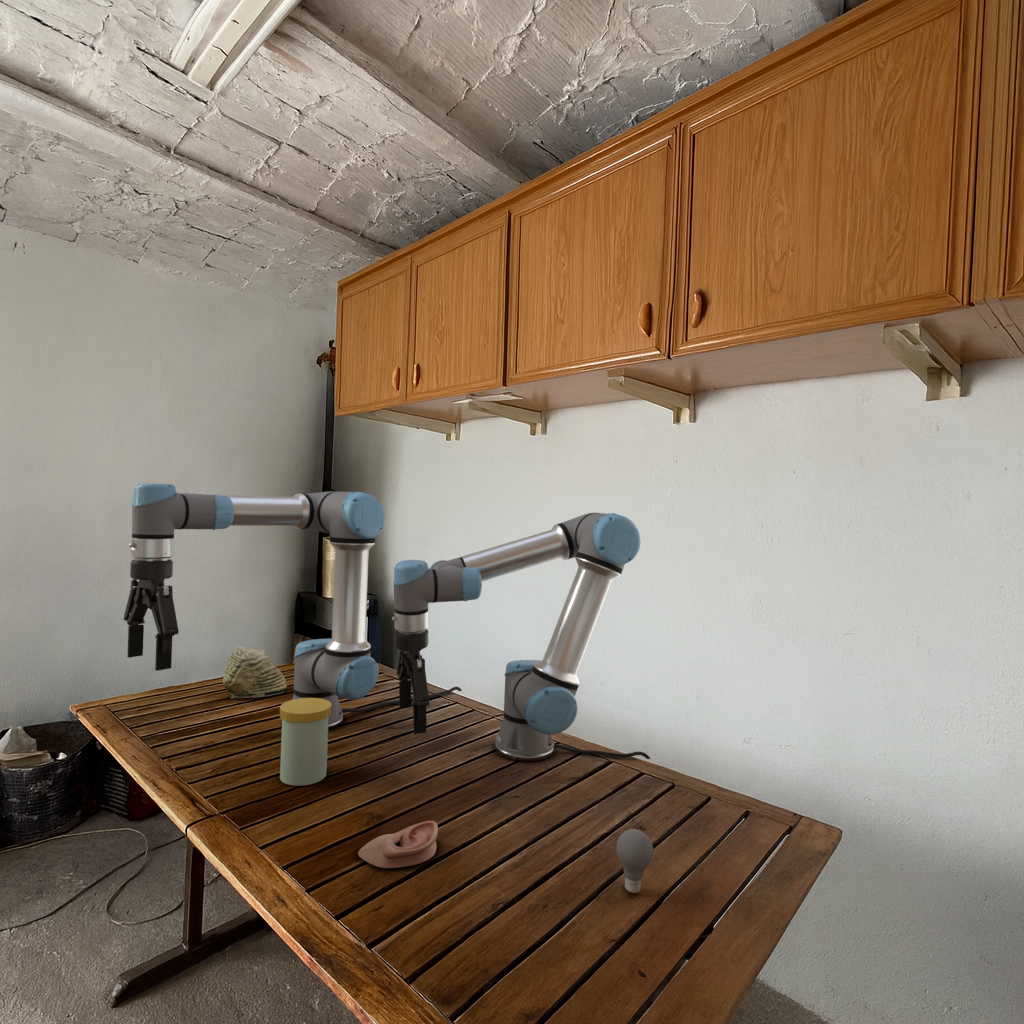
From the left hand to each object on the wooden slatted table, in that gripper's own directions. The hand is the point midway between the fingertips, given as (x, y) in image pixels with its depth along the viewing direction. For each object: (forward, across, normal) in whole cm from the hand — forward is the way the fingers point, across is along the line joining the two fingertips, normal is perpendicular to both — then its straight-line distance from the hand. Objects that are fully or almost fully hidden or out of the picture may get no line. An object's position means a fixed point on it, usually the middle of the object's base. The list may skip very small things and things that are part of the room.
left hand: (148, 662), depth 129 cm
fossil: (+28, -47, +50) cm, 74 cm away
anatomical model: (+28, +53, +22) cm, 64 cm away
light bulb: (+28, +90, +41) cm, 103 cm away
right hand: (+15, +31, +44) cm, 56 cm away
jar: (+28, +14, +28) cm, 42 cm away
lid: (+12, +14, +28) cm, 34 cm away
